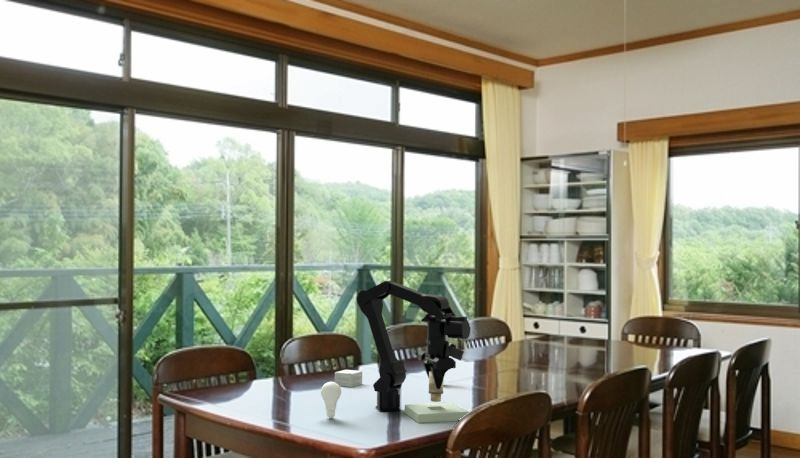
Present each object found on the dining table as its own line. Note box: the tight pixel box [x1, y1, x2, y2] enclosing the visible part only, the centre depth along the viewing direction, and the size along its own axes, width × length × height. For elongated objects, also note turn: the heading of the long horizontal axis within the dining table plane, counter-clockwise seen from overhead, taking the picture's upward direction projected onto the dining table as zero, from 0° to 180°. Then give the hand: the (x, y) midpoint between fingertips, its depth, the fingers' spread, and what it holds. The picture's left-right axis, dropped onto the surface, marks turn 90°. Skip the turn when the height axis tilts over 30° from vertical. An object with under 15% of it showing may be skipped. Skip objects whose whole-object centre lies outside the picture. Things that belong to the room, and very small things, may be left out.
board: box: [404, 401, 470, 424], centre depth 230 cm, size 16×14×2 cm
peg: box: [428, 371, 444, 403], centre depth 230 cm, size 5×5×9 cm
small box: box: [334, 369, 363, 388], centre depth 282 cm, size 8×8×5 cm
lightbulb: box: [320, 381, 342, 419], centre depth 226 cm, size 6×6×11 cm
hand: (436, 387), depth 230 cm, fingers closed on peg, 4 cm apart
